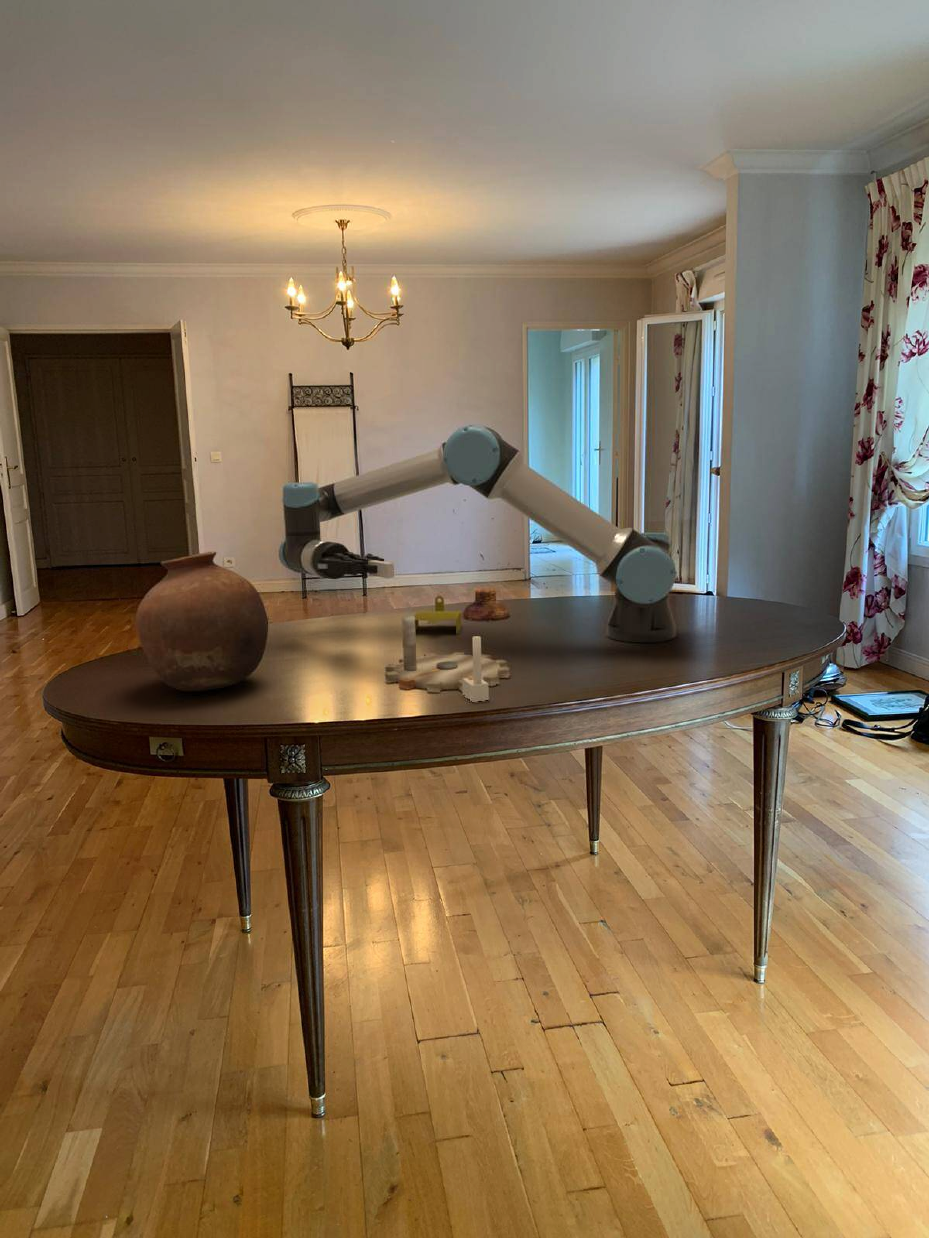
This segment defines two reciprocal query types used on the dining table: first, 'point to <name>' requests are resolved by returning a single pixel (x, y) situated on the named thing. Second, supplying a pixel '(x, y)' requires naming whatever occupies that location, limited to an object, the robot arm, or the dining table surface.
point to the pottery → (202, 625)
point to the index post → (476, 677)
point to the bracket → (438, 615)
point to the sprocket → (438, 666)
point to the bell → (485, 607)
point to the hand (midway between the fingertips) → (390, 570)
